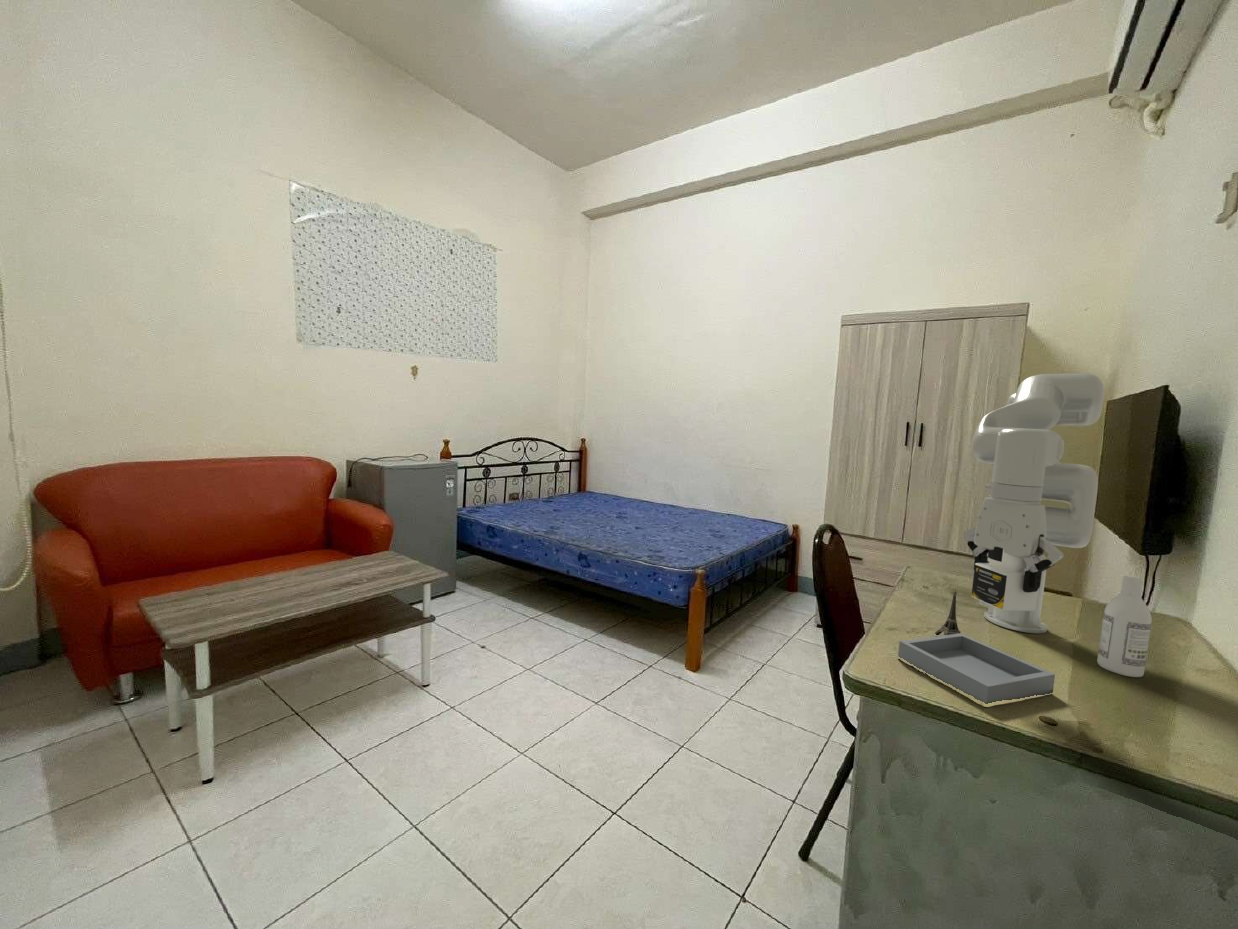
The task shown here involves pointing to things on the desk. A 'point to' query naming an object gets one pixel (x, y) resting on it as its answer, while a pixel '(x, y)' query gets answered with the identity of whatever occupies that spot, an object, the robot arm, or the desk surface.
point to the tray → (976, 668)
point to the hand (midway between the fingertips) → (1004, 583)
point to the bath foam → (1125, 631)
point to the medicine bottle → (1002, 582)
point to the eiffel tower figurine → (950, 620)
